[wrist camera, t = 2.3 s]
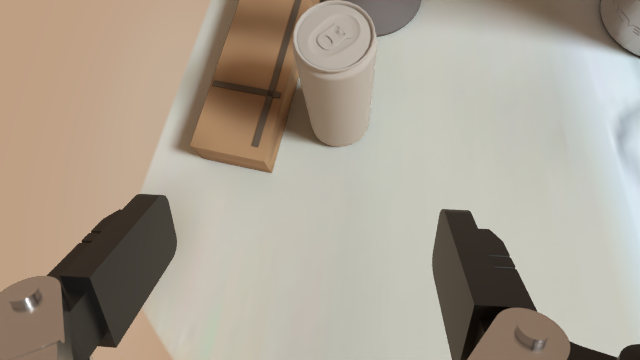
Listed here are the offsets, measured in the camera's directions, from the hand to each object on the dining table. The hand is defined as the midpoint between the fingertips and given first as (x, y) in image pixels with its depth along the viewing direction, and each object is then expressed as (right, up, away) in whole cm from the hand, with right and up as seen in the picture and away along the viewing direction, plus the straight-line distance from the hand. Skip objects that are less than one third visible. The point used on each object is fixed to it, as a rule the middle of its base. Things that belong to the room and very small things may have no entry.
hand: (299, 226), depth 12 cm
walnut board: (-3, +14, +24) cm, 28 cm away
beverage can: (+2, +6, +22) cm, 23 cm away
